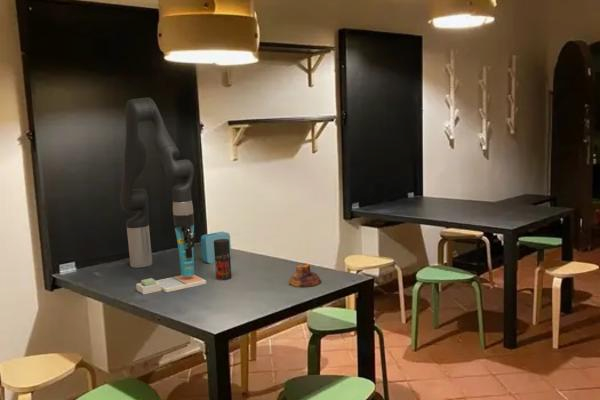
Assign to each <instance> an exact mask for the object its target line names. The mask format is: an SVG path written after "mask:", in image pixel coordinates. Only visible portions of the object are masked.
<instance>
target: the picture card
mask: <svg viewBox="0 0 600 400" xmlns="http://www.w3.org/2000/svg"><path fill="white" fill-rule="evenodd" d="M156 281H157V282H158V283H160V284H161V289H162V291H163V292H166V293H169V292H174V291H178V290H182V289H188V288H192V287H197V286H202V285H205V284H207V280H206V279H204V278H202V277H200V276H197V275H196V274H194V275H193V276H182V275H181V274H180V275H177V276H173V277H172V276H171V277H167V278H163V279H158V280H156Z"/></svg>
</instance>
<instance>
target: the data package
mask: <svg viewBox="0 0 600 400" xmlns="http://www.w3.org/2000/svg"><path fill="white" fill-rule="evenodd" d="M217 239H229V248H230V259H231V258H232V247H231V246H232V245H231V234H230V233H229V232H226V231H217V232H212V233H211V232H210V233H206V234H203V235H201V237H200V243H201V258H202V261H203V262H204V263H206V264H215V254H214V240H217Z"/></svg>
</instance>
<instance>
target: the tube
mask: <svg viewBox="0 0 600 400" xmlns="http://www.w3.org/2000/svg"><path fill="white" fill-rule="evenodd" d="M190 227H191V231H192V233H195V224H193V225H191V226H190ZM181 231H182V227H177V226H175V227H174V232H176V233H175V236H176V237H177V238H176V242H177V249H178V256H179V266H180V276H181V275H182V276H193V275H195V250H194V249H195V246H194V247H192V258H186V248H185V243H183V239H182V236H181ZM187 240H188V239H187Z"/></svg>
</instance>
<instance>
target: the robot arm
mask: <svg viewBox="0 0 600 400" xmlns="http://www.w3.org/2000/svg"><path fill="white" fill-rule="evenodd" d="M145 122H146V123H147V122H150V123H151V124H152V125H153V129H154V130H153V131H154V132H153V144H154V145H153V146H154V148H155V149H156V151H157V154H158V155H159V157H160V158H161V161H162V163H163V168H164V172H165V174H166V176H167V178H168V179H170V180H174V181H176V180H180V181H179V183H178V184H177V185H176V184H175V185H174V186H172V188H171V189H172V190H171V194H172V196H171V197H172V216H173V225H174V226H175V227H182V231H181V236H182V239H183V243H185V248H186V258H192V247H194V248H195V239H196V233H195V232H194V233H192V231H191V227H190V226H191V225H195V218H194V206H193V199H192V191H191V190H192V186H193V179H194V175H195V167H194V164H193V163H192V161H191V160H189V159H179V160H177V158H178V157H179V156H180V151H179V149H178V147H177V146H176V144H175V142H174V140H173V138H171V135H170V134H169V132H168V130H167V127H166V125H165V122H164V119H163V117H162V115H161V113H160V110H159V108H158V106H157V104H156V102H155V101H154V99H153V98H151V97H142V98H140V97H139V98H132V99H130V100H128V101H126V106H125V146H124V147H125V148H124V158H123V160H124V162H123V178H122V185H121V189H120V190H121V191H120V200H119V201H120V207H121V209H122V211H124V212H127V213H128V212H137V213H136V214H135V215H134V216H133V217H131V218H129V219H127V220H126V223H125V225H126V233H127V234H126V235H127V241H128V242H127V243H128V254H129V262H130V263H129V266H130V267H131V268H139V269H140V268H146V267H150V266H152V265H153V256H152V247H151V246H152V245H151V236H150V235H151V234H150V222H149V217H150V215H149V197H148V193H147V191H146V189H144V188H134V185H135V184H136V181H138V180H139V178H140V177H141V175H142V174H143V173H144V171H145V170H146V169H147V165H148V158H149V151H148V147H147V145H146V143H145V141H144V140H143V138H142V137H141V135H140V134H139V125H140V123H145ZM174 232H175V231H174ZM175 234H176V232H175ZM176 239H177V237H176ZM187 239H188V240H187Z"/></svg>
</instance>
